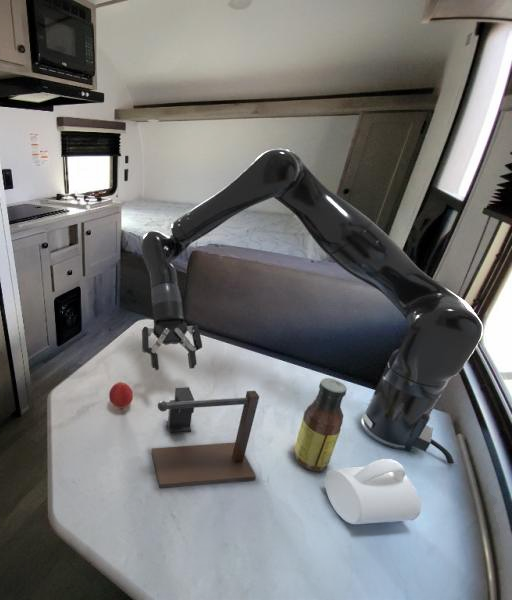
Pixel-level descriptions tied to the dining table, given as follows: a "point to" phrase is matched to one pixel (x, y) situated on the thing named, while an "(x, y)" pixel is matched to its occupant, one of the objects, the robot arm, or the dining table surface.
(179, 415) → the grey hanging weight
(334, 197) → the robot arm
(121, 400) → the red rounded oval body
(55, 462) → the dining table surface
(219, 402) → the rack
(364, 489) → the mug
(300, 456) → the sauce bottle
